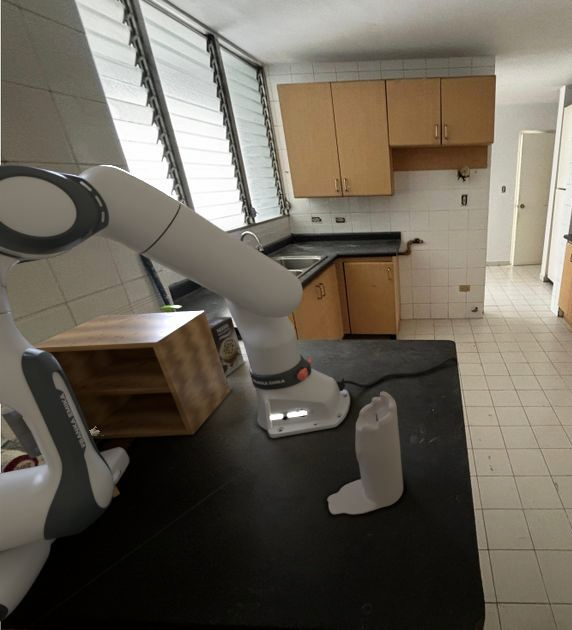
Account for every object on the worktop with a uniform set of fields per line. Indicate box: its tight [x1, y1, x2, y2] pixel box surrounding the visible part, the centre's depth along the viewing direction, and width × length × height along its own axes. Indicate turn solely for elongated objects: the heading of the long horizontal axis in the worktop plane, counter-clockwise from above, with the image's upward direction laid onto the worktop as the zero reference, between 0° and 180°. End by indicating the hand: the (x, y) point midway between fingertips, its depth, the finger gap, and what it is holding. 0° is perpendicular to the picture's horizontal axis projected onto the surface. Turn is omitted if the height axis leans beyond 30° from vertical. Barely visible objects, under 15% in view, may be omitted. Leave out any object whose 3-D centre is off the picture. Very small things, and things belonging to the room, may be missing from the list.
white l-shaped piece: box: [326, 391, 404, 515], centre depth 57 cm, size 7×14×20 cm, turn 108°
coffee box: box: [207, 316, 245, 377], centre depth 101 cm, size 9×6×16 cm
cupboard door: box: [0, 407, 121, 498], centre depth 63 cm, size 7×26×24 cm, turn 56°
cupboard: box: [32, 310, 231, 440], centre depth 81 cm, size 17×26×24 cm, turn 91°
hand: (71, 454), depth 64 cm, fingers closed
